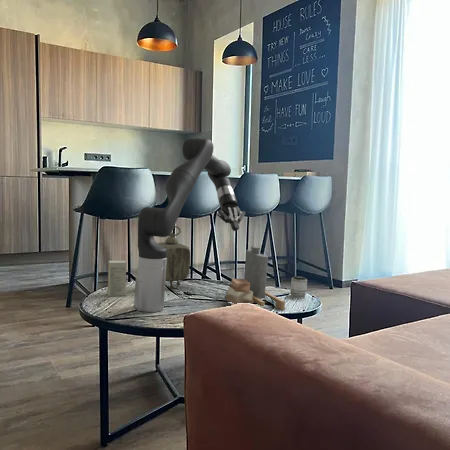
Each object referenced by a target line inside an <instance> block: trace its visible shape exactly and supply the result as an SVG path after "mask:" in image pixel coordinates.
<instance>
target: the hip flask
mask: <svg viewBox="0 0 450 450" xmlns="http://www.w3.org/2000/svg"><path fill="white" fill-rule="evenodd" d="M260 251H261V246H250V249H246V251H245V261H244V262H245V264H244V276H243V279H245V280H247V281H248V282H249V283H250V291H252V292H253V295H254V296H255V297H257V298H259V299H260V298H265V291H266V287H267V285H266V284H267V273H268V261H269V256H268V255H265V254H263V253H260Z"/></svg>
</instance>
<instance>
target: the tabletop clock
mask: <svg viewBox="0 0 450 450" xmlns="http://www.w3.org/2000/svg"><path fill="white" fill-rule="evenodd" d="M174 228H176V229H177V230H178V231H179V232H178V233H176V234H175V233H174V232H173V231H172V232H171V234H170V235H169V236H167V238H166V239H165V240H164V241H163V242H157V243H158V244H159V245H161V246H163V247H164V248H166V249H167V264H166V279H165V282H169V283H170V286H169V290H174V285H173V282H175V283H176V286H180V285H181V282H180V281H183V280H185V279H187V278H188V276H189V273H190V267H191V251H190V247H189V246H187V245H184V244H182V243H179V240H178V239H177V238H176V237H177V236H179V235H180V233H181V228H180V227H179V226H177V225H175V226H174Z"/></svg>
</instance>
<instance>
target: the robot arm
mask: <svg viewBox="0 0 450 450" xmlns="http://www.w3.org/2000/svg"><path fill="white" fill-rule="evenodd" d="M181 151H182V157H184V160H186V161H185V162H184V163H182V164H181V165H178V166H176V168H174V169H173V170H172V172H171V173H170V175H169V177H168V178H167V180H166V182H165V193H166V196H167V198H168V204H167V206H166V207H164V208H163V207H161V208H160V207H150V206H146V207H143V208H142V209H141V210H140V212H139V215H138V220H137V250H138V257H137V258H138V259H137V260H138V261H137V272H136V273H137V275H136V278H135V280H134V281H135V283H134V284H135V285H134V300H133V307H134V308H135V310H136V311H137V312H146V313H149V312H150V313H157V312H161V311H163V310H164V308H165V307H164V306H165V292H166V290H165V289H166V281H165V279H166V264H167V249H166V248H164V247H163V246H161V245H159V244H158V243H159V242H157V241H156V240H155V238H154V237H158V238H166V237H167V238H168V237H170V236H169V235H170V234H171V233H172V232H173V230H174V228H175V227H174V226H176V223H177V222H178V219H179V216H180V214H181V211H182V208H183V207H184V204H185V203H186V201H187V199H188V197H189V195H190V194H191V193H192V190H193V189H194V187H195V184H196V183H197V180H198V179H199V177H200V175H201V174H202V172H203V171H204V170H205V171H206V173H207V177H208V178H209V179H210V180H211V182H212V183H213V184H214V187H215V191H216V195H217V200H218V203H219V207H220V209H219V210H218V211H217V213H216V216H217V217H219V218H220V219H221V220H222V221H223V222H224V223H226V224H230V227H231V230H232V231H233V232H238V230H239V229H240V225H239V224H240V223H241V222H242V220H243V218H244V216H245V215H246V213H247V212H246V211H244V210H243V211H242V210H241V209H240V208H239V204H238V200H237V197H236V195H235V192H234V189H233V186H232V183H231V181H230V179H229V178H228V177H229V176H230V175H231V173H232V169H231V166H230V165H229V163H227V161H225V160H221V159H219V158H218V157H217V156H215V155H213V154H214V143H213V142H212V140H211V139H208V138H203V137H202V138H201V137H188V138H186V139H185V140H184V142H183V143H182V150H181ZM238 216H239V217H238Z"/></svg>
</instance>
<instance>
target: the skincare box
mask: <svg viewBox="0 0 450 450" xmlns="http://www.w3.org/2000/svg"><path fill="white" fill-rule="evenodd" d="M107 264H108V266H107V268H108V270H107V296H109V297H112V296H115V297H118V296H120V297H121V296H126V292H127V291H126V286H127V284H126V283H127V281H126V280H127V261H126V260H108V263H107Z"/></svg>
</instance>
